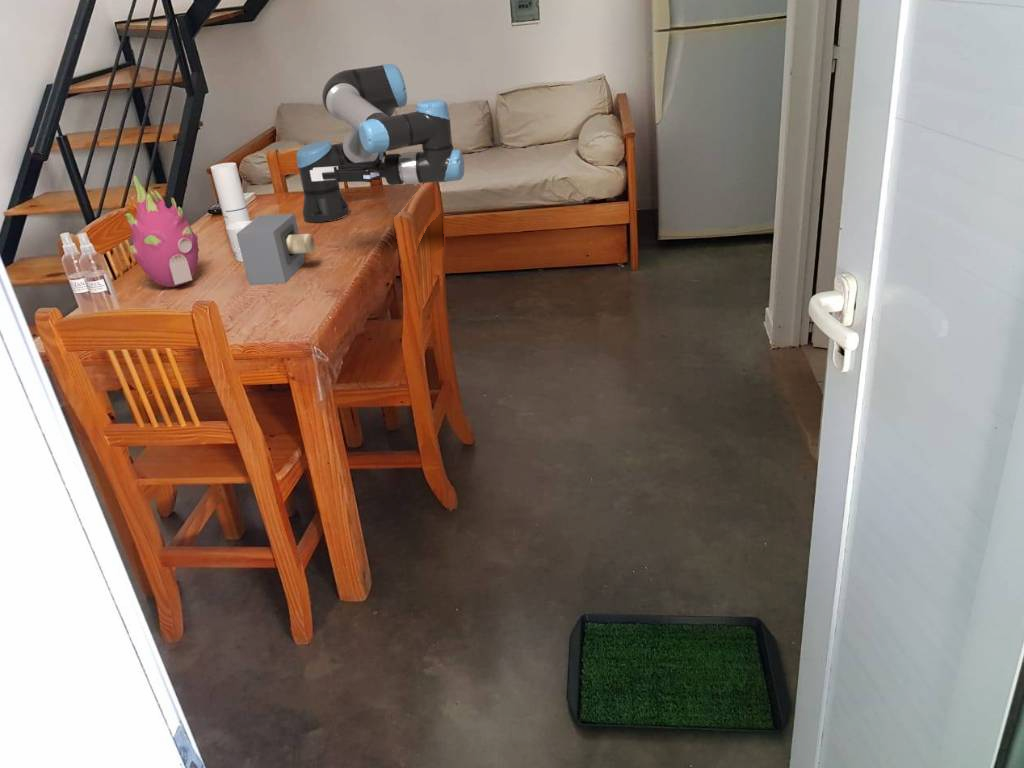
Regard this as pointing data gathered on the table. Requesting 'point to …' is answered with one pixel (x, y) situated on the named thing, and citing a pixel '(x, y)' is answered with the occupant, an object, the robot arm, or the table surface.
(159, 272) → the pink dragon fruit
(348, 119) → the robot arm
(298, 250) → the peg
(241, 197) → the cylindrical container
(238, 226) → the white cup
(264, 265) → the housing
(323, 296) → the table surface
